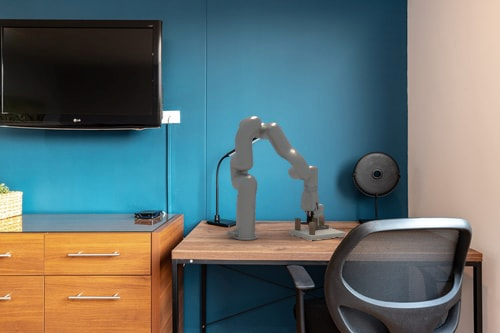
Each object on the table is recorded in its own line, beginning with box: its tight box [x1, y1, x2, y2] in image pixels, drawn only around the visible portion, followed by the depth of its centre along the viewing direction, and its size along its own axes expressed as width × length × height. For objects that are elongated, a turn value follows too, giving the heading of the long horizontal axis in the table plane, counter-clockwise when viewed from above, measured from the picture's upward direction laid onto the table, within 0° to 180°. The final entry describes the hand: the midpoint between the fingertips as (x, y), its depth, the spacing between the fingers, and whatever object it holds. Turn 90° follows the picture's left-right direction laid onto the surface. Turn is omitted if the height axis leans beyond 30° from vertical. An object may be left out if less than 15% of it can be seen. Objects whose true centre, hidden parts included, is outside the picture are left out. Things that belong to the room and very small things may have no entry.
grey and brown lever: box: [312, 218, 330, 230], centre depth 181 cm, size 11×3×6 cm, turn 118°
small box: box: [313, 203, 325, 226], centre depth 203 cm, size 8×6×13 cm
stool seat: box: [289, 215, 346, 241], centre depth 177 cm, size 22×18×8 cm
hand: (309, 223), depth 183 cm, fingers closed
